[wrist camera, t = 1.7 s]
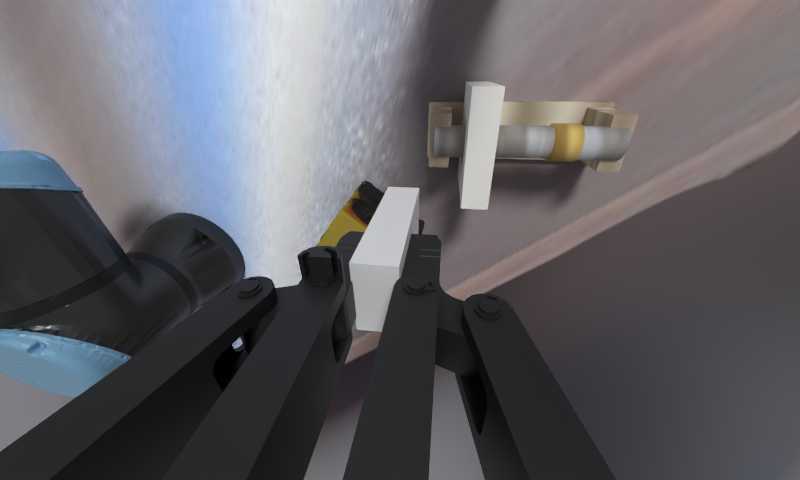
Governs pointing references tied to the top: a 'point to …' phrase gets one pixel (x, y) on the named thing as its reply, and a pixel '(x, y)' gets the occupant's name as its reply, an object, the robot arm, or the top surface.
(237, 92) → the top surface
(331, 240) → the yellow cube with hole
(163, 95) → the top surface
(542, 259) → the top surface
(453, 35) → the top surface
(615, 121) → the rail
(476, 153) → the upright white plank
